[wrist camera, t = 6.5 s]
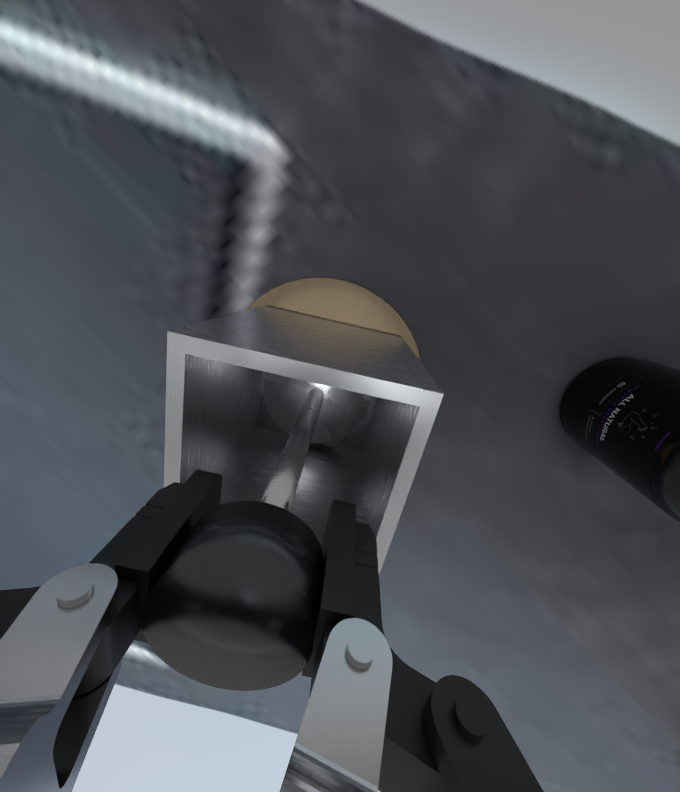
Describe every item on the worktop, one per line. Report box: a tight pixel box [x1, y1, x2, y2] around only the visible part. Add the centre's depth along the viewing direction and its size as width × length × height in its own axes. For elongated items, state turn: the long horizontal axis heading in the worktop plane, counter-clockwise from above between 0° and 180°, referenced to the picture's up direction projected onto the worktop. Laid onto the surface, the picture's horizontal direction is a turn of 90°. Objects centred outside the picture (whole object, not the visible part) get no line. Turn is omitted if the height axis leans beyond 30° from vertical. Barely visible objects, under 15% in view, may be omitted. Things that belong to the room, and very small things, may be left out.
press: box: [164, 278, 444, 574], centre depth 17 cm, size 14×14×12 cm
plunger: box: [140, 372, 371, 691], centre depth 14 cm, size 7×7×15 cm
